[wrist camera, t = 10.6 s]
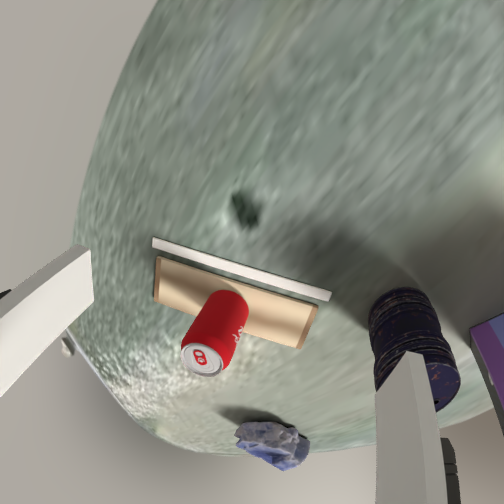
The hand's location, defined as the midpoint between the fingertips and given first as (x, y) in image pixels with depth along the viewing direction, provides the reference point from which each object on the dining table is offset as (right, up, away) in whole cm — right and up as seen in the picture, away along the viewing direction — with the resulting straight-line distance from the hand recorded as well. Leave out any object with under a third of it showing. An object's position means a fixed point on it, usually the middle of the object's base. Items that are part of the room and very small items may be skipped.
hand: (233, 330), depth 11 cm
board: (-2, -5, +34) cm, 34 cm away
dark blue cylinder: (+22, -6, +29) cm, 37 cm away
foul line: (-1, +1, +31) cm, 31 cm away
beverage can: (-3, -5, +34) cm, 34 cm away
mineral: (+6, -33, +46) cm, 57 cm away
